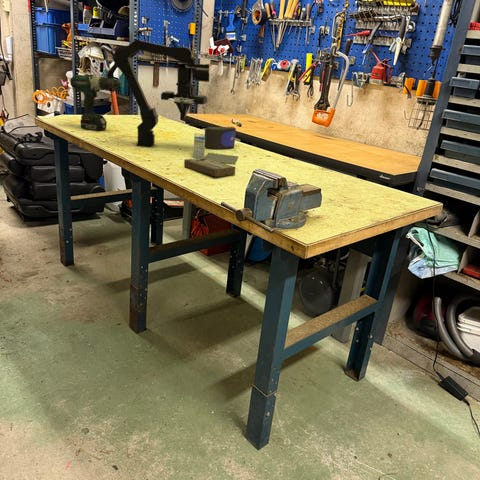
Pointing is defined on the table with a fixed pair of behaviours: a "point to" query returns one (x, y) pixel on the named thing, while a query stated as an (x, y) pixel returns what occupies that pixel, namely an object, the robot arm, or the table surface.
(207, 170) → the box
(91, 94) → the power drill
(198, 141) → the medicine box
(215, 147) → the leaning round-cornered charcoal block
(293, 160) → the table surface
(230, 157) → the mat
